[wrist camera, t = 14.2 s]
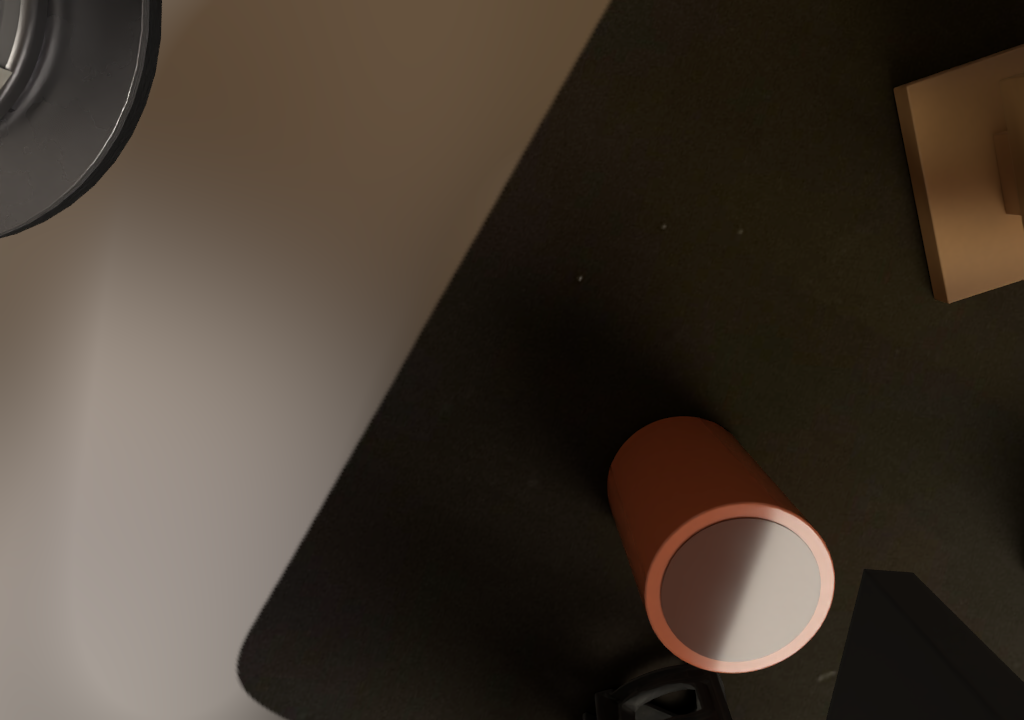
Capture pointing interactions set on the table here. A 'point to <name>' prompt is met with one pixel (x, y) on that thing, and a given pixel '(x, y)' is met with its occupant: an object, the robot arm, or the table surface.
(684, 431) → the cup
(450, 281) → the table surface
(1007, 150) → the stand
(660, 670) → the holder
